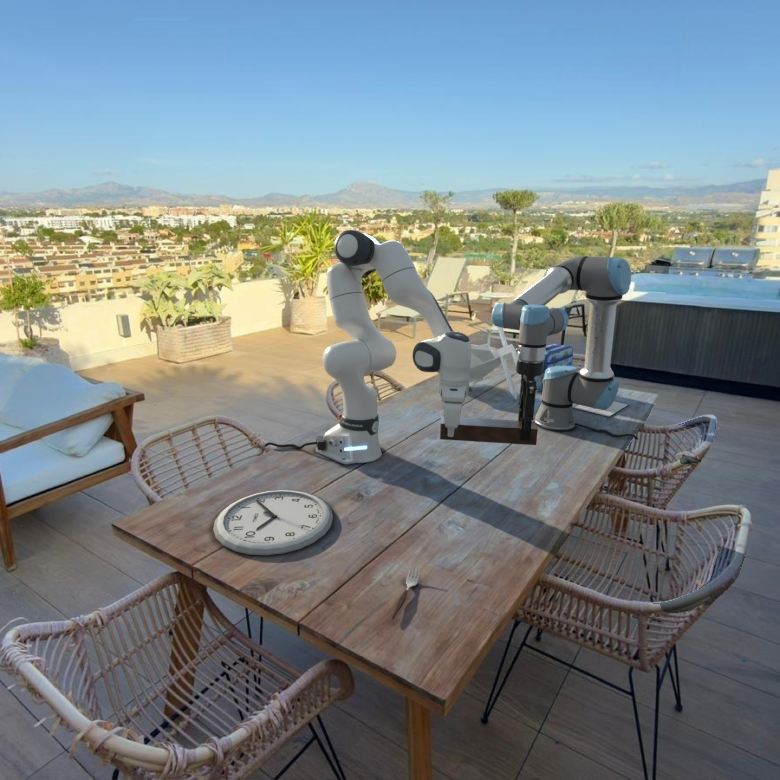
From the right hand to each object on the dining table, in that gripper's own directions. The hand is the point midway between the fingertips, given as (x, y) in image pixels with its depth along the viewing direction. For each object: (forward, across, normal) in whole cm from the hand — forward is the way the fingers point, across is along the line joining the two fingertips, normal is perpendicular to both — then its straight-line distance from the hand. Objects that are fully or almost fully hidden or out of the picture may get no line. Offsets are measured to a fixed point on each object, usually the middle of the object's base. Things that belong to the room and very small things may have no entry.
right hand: (523, 435), depth 155 cm
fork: (+14, +58, -30) cm, 67 cm away
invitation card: (+15, -75, +43) cm, 88 cm away
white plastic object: (+15, -87, -8) cm, 89 cm away
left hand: (0, 0, -22) cm, 22 cm away
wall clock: (+14, +34, -66) cm, 75 cm away
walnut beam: (+2, 0, -11) cm, 11 cm away
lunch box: (+15, -99, +25) cm, 103 cm away
